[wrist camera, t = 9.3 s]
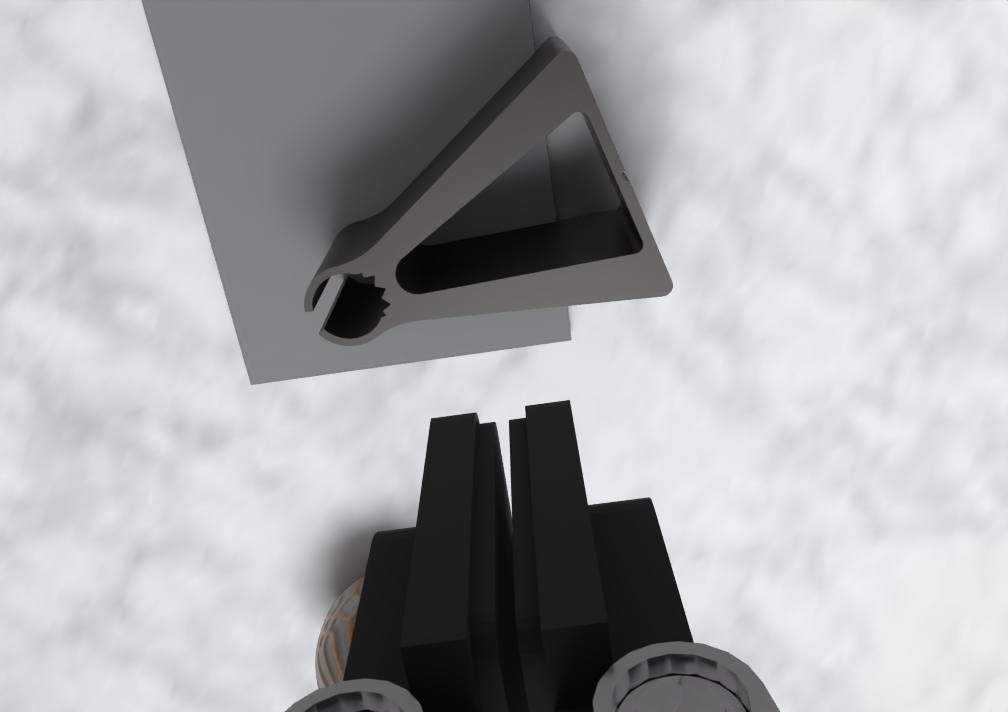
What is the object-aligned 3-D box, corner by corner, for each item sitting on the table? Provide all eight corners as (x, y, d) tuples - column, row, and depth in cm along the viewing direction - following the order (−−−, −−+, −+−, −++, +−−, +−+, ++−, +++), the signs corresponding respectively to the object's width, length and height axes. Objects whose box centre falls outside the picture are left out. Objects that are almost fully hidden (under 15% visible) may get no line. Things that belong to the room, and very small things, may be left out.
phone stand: (558, 32, 34) (280, 172, 36) (572, 46, 28) (242, 211, 30) (648, 242, 37) (389, 359, 39) (676, 292, 32) (374, 426, 34)
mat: (511, -131, 32) (512, -133, 32) (570, 334, 39) (571, 340, 39) (128, -68, 33) (122, -69, 32) (254, 378, 40) (251, 384, 39)
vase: (321, 548, 44) (282, 681, 35) (464, 541, 43) (458, 672, 35) (339, 661, 46) (307, 807, 38) (474, 654, 46) (470, 799, 38)
